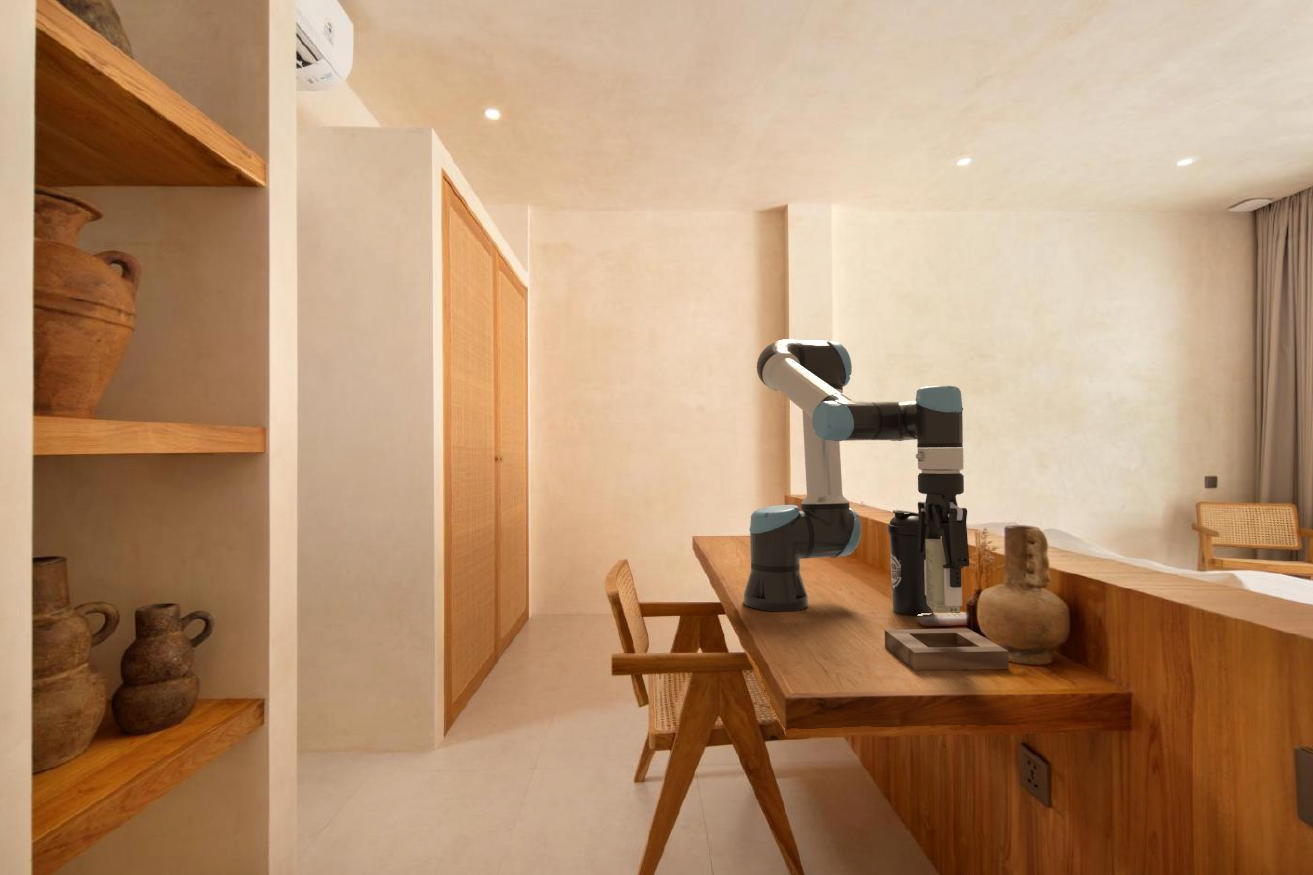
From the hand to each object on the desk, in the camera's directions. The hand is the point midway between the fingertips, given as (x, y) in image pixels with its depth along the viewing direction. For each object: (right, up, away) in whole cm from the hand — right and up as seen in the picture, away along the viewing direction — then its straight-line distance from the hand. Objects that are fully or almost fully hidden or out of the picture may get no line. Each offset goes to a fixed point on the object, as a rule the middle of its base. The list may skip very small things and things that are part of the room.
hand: (942, 599), depth 111 cm
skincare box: (0, -2, 0) cm, 2 cm away
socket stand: (0, -10, 0) cm, 10 cm away
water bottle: (+7, -11, +30) cm, 33 cm away
